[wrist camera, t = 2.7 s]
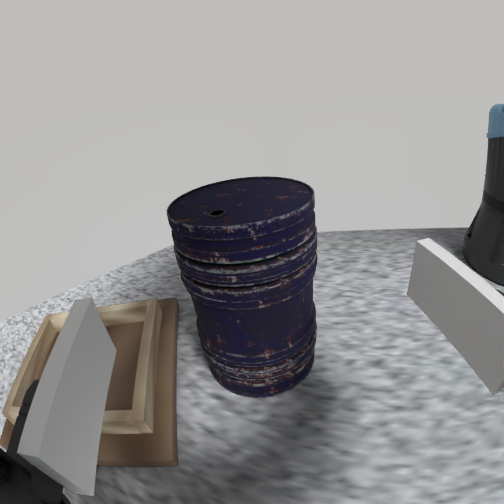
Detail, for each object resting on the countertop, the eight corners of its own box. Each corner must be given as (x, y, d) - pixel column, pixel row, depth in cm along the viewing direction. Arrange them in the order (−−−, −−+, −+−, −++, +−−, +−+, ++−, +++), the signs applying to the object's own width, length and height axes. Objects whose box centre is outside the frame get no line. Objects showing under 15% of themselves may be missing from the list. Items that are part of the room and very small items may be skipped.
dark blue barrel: (238, 312, 32) (215, 176, 25) (327, 329, 28) (329, 178, 21) (188, 378, 25) (133, 222, 18) (293, 413, 21) (286, 236, 14)
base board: (178, 305, 34) (171, 283, 33) (178, 465, 17) (163, 449, 15) (54, 323, 33) (44, 304, 31) (6, 450, 15) (-15, 431, 14)
